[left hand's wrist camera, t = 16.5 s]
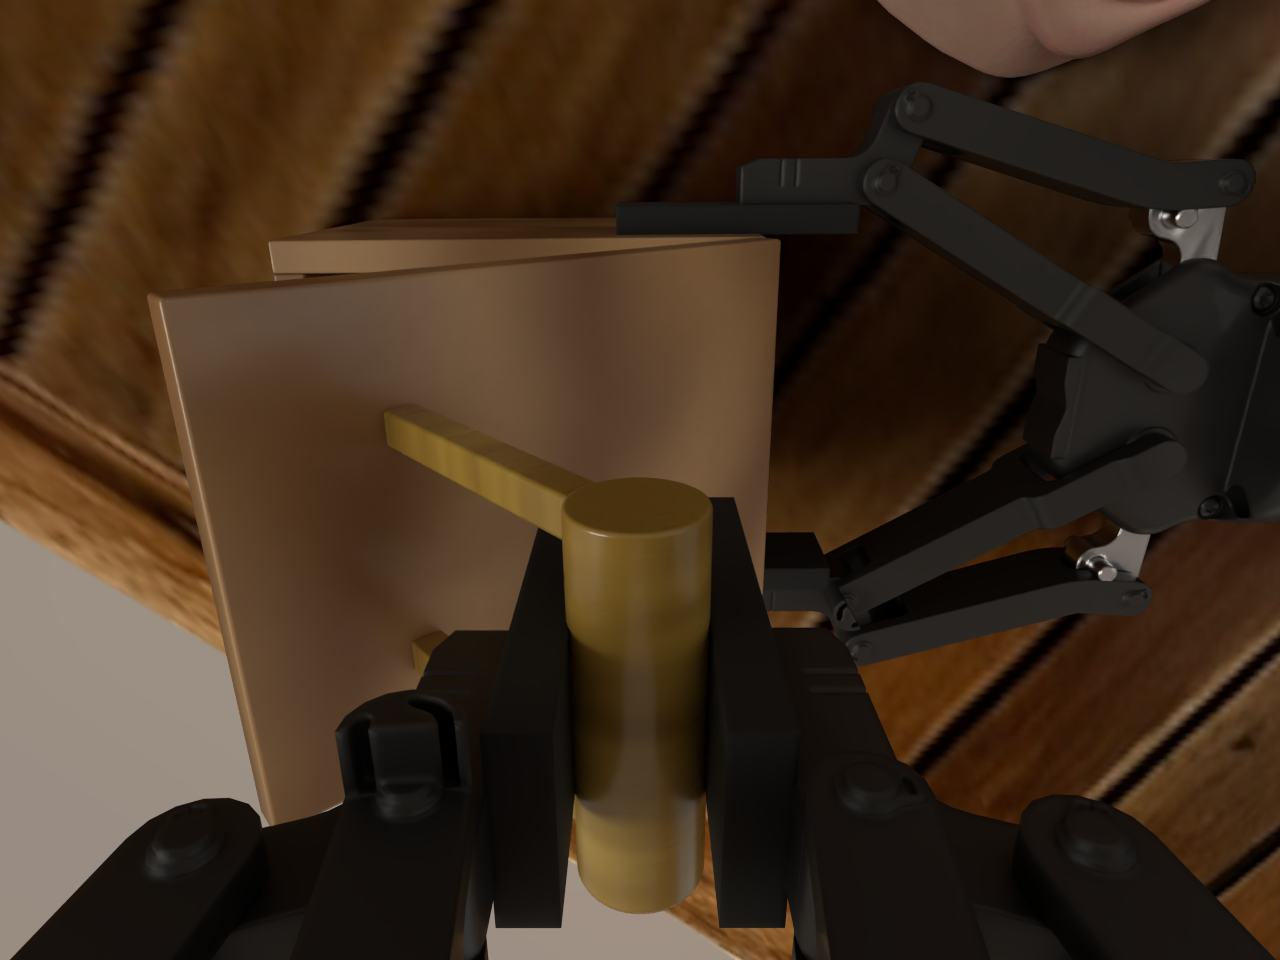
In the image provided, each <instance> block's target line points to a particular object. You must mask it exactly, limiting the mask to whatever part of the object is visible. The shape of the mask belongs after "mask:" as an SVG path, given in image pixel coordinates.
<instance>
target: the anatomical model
mask: <svg viewBox="0 0 1280 960" xmlns="http://www.w3.org/2000/svg"><path fill="white" fill-rule="evenodd" d="M877 1H878V2H879V3H880V4H881V5H882V6H883V7H884V8H885V9H886V10H887V11H888V12H889V13H891V14H892V15H893V16H895V17H896V18H897V19H898V20H900V21H901V22H902V23H904V24H905V25H906V26H907V27H909V28H910V29H911V30H912V31H914V32H915V33H916V34H918V35H919V36H920V37H921V38H923V39H924V40H925V41H927V42H928V43H930V44H931V45H933V46H934V47H935V48H937V49H938V50H940V51H941V52H943V53H945V54H947V55H949V56H951V57H953V58H955V59H957V60H959V61H961V62H963V63H965V64H967V65H969V66H971V67H973V68H975V69H977V70H979V71H982V72H984V73H987V74H990V75H994V76H998V77H1021V76H1026V75H1031V74H1034V73H1038V72H1041V71H1044V70H1047V69H1050V68H1052V67H1055V66H1058V65H1060V64H1063V63H1065V62H1068V61H1070V60H1073V59H1082V58H1088V57H1091V56H1094V55H1097V54H1100V53H1102V52H1104V51H1107V50H1109V49H1111V48H1113V47H1115V46H1117V45H1119V44H1121V43H1123V42H1125V41H1127V40H1129V39H1131V38H1133V37H1135V36H1137V35H1139V34H1141V33H1143V32H1145V31H1147V30H1150V29H1152V28H1154V27H1156V26H1158V25H1161V24H1163V23H1165V22H1167V21H1169V20H1171V19H1174V18H1176V17H1178V16H1180V15H1182V14H1185V13H1187V12H1189V11H1191V10H1193V9H1196V8H1198V7H1200V6H1201V5H1203V4H1205V3H1207V2H1209V1H1211V0H877Z"/></svg>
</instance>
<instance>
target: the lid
mask: <svg viewBox="0 0 1280 960" xmlns="http://www.w3.org/2000/svg"><path fill="white" fill-rule="evenodd" d="M780 247H781V242H780V240H778V239H771V238H758V237H756V238H745V239H734V240H723V241H712V242H700V243H689V244H678V245H667V246H656V247H645V248H634V249H623V250H612V251H601V252H590V253H579V254H567V255H556V256H545V257H534V258H523V259H512V260H501V261H490V262H479V263H468V264H457V265H446V266H435V267H423V268H412V269H401V270H390V271H379V272H368V273H357V274H346V275H335V276H324V277H313V278H302V279H290V280H279V281H268V282H257V283H246V284H235V285H224V286H213V287H202V288H191V289H180V290H169V291H158V292H151V293H149V294H148V297H147V299H148V304H149V308H150V313H151V317H152V322H153V326H154V331H155V335H156V340H157V344H158V349H159V353H160V358H161V362H162V367H163V371H164V376H165V380H166V385H167V389H168V394H169V398H170V403H171V407H172V412H173V416H174V421H175V425H176V430H177V434H178V439H179V443H180V448H181V452H182V457H183V461H184V466H185V470H186V475H187V479H188V484H189V488H190V493H191V497H192V502H193V506H194V511H195V515H196V520H197V524H198V529H199V533H200V538H201V542H202V547H203V551H204V556H205V560H206V565H207V569H208V574H209V578H210V583H211V587H212V592H213V596H214V601H215V605H216V610H217V614H218V619H219V623H220V628H221V632H222V637H223V641H224V646H225V650H226V655H227V659H228V664H229V668H230V673H231V677H232V682H233V686H234V690H235V695H236V700H237V704H238V709H239V713H240V717H241V722H242V726H243V731H244V736H245V740H246V745H247V749H248V754H249V758H250V763H251V767H252V772H253V776H254V781H255V785H256V790H257V794H258V799H259V803H260V807H261V812H262V813H263V815H264V817H265V818H266V820H267V822H268V823H269V825H270V826H273V825H277V824H281V823H286V822H290V821H294V820H298V819H303V818H307V817H310V816H314V815H317V814H319V813H321V812H323V811H325V810H327V809H329V808H332V807H333V806H336V805H338V804H340V803H342V802H343V801H344V798H345V793H344V787H343V781H342V775H341V768H340V762H339V756H338V750H337V743H336V737H335V730H336V729H337V727H338V726H339V725H340V723H341V722H342V720H343V719H344V717H345V716H346V715H347V714H349V713H350V712H352V711H353V710H354V709H356V708H357V707H359V706H360V705H361V704H363V703H364V702H367V701H369V700H372V699H374V698H377V697H379V696H382V695H384V694H387V693H392V692H398V691H404V690H411V689H416V688H417V686H418V684H419V681H420V679H421V677H423V672H424V670H425V667H426V665H427V663H428V660H429V658H430V656H431V653H432V651H433V649H434V648H436V647H437V646H438V645H439V644H440V643H441V642H443V641H444V640H445V639H446V638H447V637H448V636H450V635H451V634H452V633H453V632H454V631H455V630H509V628H510V624H511V621H512V617H513V614H514V610H515V607H516V603H517V600H518V596H519V593H520V589H521V586H522V582H523V579H524V575H525V572H526V568H527V564H528V561H529V557H530V554H531V550H532V547H533V543H534V540H535V536H536V533H537V529H538V527H539V528H540V529H542V530H544V531H546V532H548V533H550V534H552V535H553V536H555V537H557V538H559V539H561V540H562V549H563V570H564V591H565V612H566V623H567V626H568V628H569V650H570V676H571V702H572V727H573V752H574V777H575V800H574V809H573V819H574V820H575V822H576V843H577V864H578V872H579V876H580V878H581V880H582V882H583V884H584V886H585V887H586V889H587V890H588V891H589V893H590V894H591V895H592V896H593V897H594V898H595V899H597V900H598V901H599V902H601V903H602V904H604V905H606V906H608V907H610V908H612V909H615V910H618V911H622V912H625V913H632V914H649V913H655V912H660V911H663V910H666V909H669V908H671V907H673V906H675V905H677V904H679V903H680V902H682V901H683V900H684V899H686V898H687V897H688V896H689V895H690V894H691V893H692V891H693V890H694V889H695V888H696V886H697V884H698V883H699V881H700V879H701V876H702V873H703V869H704V849H705V809H706V793H705V785H706V753H707V718H708V683H709V648H710V610H711V571H712V531H713V506H712V503H711V501H710V499H709V498H708V497H734V499H735V502H736V506H737V509H738V513H739V516H740V520H741V523H742V527H743V530H744V534H745V537H746V541H747V544H748V548H749V551H750V555H751V558H752V562H753V565H754V569H755V572H756V576H757V579H758V583H759V586H760V590H761V593H762V594H763V581H764V561H765V541H766V522H767V502H768V483H769V463H770V443H771V424H772V404H773V384H774V365H775V345H776V326H777V306H778V286H779V267H780Z"/></svg>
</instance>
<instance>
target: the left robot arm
mask: <svg viewBox="0 0 1280 960" xmlns="http://www.w3.org/2000/svg"><path fill="white" fill-rule="evenodd" d="M708 498H709V499H710V501H711V503H712V506H713V531H712V571H711V610H710V648H709V683H708V718H707V753H706V785H705V793H706V803H707V812H708V822H709V831H710V841H711V851H712V860H713V870H714V880H715V889H716V899H717V909H718V918H719V928H785V921H786V909H787V898H788V902H789V906H790V911H791V916H792V921H793V926H794V939H793V950H792V960H1276V959H1275V958H1274V957H1273V956H1272V955H1271V954H1270V953H1269V952H1268V951H1267V950H1266V949H1265V948H1264V947H1263V946H1262V945H1261V944H1260V943H1259V942H1258V941H1257V940H1256V939H1255V938H1254V937H1253V936H1252V935H1251V934H1250V932H1249V931H1248V930H1247V929H1246V928H1245V927H1244V926H1243V925H1242V924H1241V923H1240V922H1239V921H1238V920H1237V919H1236V918H1235V917H1234V916H1233V915H1232V914H1231V913H1230V912H1229V911H1228V910H1227V909H1226V908H1225V907H1224V906H1223V905H1222V904H1221V903H1220V901H1219V900H1218V899H1217V898H1216V897H1215V896H1214V895H1213V894H1212V893H1211V892H1210V891H1209V890H1208V889H1207V888H1206V887H1205V886H1204V885H1203V884H1202V883H1201V882H1200V881H1199V880H1198V879H1197V878H1196V877H1195V876H1194V875H1193V874H1192V873H1191V871H1190V870H1189V869H1188V868H1187V867H1186V866H1185V865H1184V864H1183V863H1182V862H1181V861H1180V860H1179V859H1178V858H1177V857H1176V856H1175V855H1174V854H1173V853H1172V852H1171V851H1170V850H1169V849H1168V848H1167V847H1166V846H1165V845H1164V844H1163V843H1162V841H1161V840H1160V839H1159V838H1158V837H1157V836H1156V835H1155V834H1153V833H1152V832H1151V831H1150V830H1148V829H1147V828H1146V827H1145V826H1143V825H1142V824H1141V823H1140V822H1138V821H1137V820H1136V819H1135V818H1133V817H1132V816H1130V815H1128V814H1126V813H1124V812H1122V811H1120V810H1118V809H1116V808H1114V807H1112V806H1110V805H1108V804H1106V803H1103V802H1099V801H1096V800H1092V799H1088V798H1085V797H1081V796H1077V795H1050V796H1046V797H1043V798H1040V799H1036V800H1033V801H1032V802H1031V803H1030V804H1029V805H1028V807H1027V808H1026V809H1025V810H1024V811H1023V812H1022V814H1021V819H1020V823H1019V825H1017V824H1013V823H1009V822H1005V821H1000V820H996V819H992V818H988V817H984V816H979V815H975V814H971V813H968V812H965V811H962V810H959V809H955V808H952V807H950V806H948V805H946V804H944V803H942V802H940V801H938V800H936V797H935V795H934V793H933V792H932V790H931V788H930V787H929V785H928V783H927V782H926V780H925V779H924V778H923V777H922V776H921V775H919V774H918V773H917V772H916V771H914V770H913V769H912V768H911V767H909V766H908V765H907V764H905V763H903V762H900V761H898V760H897V759H896V757H895V754H894V752H893V750H892V748H891V745H890V743H889V741H888V738H887V736H886V734H885V731H884V729H883V727H882V724H881V722H880V720H879V718H878V715H877V713H876V711H875V708H874V706H873V704H872V701H871V699H870V697H869V695H868V693H866V688H865V685H864V683H863V681H862V678H861V676H860V674H858V669H857V667H856V665H855V662H854V660H853V658H852V655H851V653H850V651H849V648H848V647H847V646H846V645H845V644H844V643H843V642H841V641H840V640H839V639H838V638H837V637H836V636H834V635H833V634H832V633H831V632H830V631H829V630H827V629H826V628H771V625H770V621H769V618H768V614H767V611H766V607H765V604H764V600H763V597H762V593H761V590H760V586H759V583H758V579H757V576H756V572H755V569H754V565H753V562H752V558H751V555H750V551H749V548H748V544H747V541H746V537H745V534H744V530H743V527H742V523H741V520H740V516H739V513H738V509H737V506H736V502H735V499H734V497H708ZM335 737H336V743H337V750H338V756H339V762H340V768H341V775H342V781H343V787H344V793H345V798H344V801H343V804H342V805H340V806H337V807H335V808H333V809H331V810H329V811H326V812H323V813H320V814H317V815H314V816H310V817H307V818H303V819H298V820H294V821H290V822H286V823H281V824H277V825H273V826H269V827H265V828H262V825H261V820H260V816H259V815H258V814H257V813H256V812H255V810H254V809H253V808H252V807H251V806H250V805H249V804H247V803H244V802H241V801H237V800H234V799H231V798H214V799H202V800H198V801H194V802H191V803H187V804H183V805H180V806H176V807H174V808H172V809H170V810H168V811H166V812H164V813H162V814H160V815H158V816H156V817H155V818H153V819H151V820H149V821H148V822H146V823H145V824H144V825H143V826H141V827H140V828H139V829H138V830H136V831H135V832H134V833H133V834H131V835H130V836H129V837H128V838H127V839H126V840H125V841H124V842H123V843H122V844H121V845H120V846H119V847H118V848H117V849H116V850H115V851H114V852H113V853H112V854H111V855H110V856H109V857H108V858H107V859H106V860H105V861H104V862H103V864H102V865H101V866H100V867H99V868H98V869H97V870H96V871H95V872H94V873H93V874H92V875H91V876H90V877H89V878H88V879H87V880H86V881H85V882H84V883H83V884H82V885H81V886H80V887H79V888H78V890H77V891H76V892H75V893H74V894H73V895H72V896H71V897H70V898H69V899H68V900H67V901H66V902H65V903H64V904H63V905H62V906H61V907H60V908H59V909H58V910H57V911H56V912H55V913H54V915H53V916H52V917H51V918H50V919H49V920H48V921H47V922H46V923H45V924H44V925H43V926H42V927H41V928H40V929H39V930H38V931H37V932H36V933H35V934H34V935H33V936H32V937H31V938H30V940H29V941H28V942H27V943H26V944H25V945H24V946H23V947H22V948H21V949H20V950H19V951H18V952H17V953H16V954H15V955H14V956H13V957H12V958H11V959H10V960H488V951H487V939H486V934H487V929H488V924H489V919H490V914H491V909H492V904H493V902H494V914H495V925H496V928H561V925H562V915H563V905H564V896H565V886H566V876H567V867H568V857H569V848H570V838H571V828H572V819H573V809H574V800H575V777H574V752H573V727H572V702H571V676H570V650H569V628H568V626H567V623H566V612H565V591H564V570H563V549H562V540H561V539H559V538H557V537H555V536H553V535H552V534H550V533H548V532H546V531H544V530H542V529H540V528H539V527H538V529H537V533H536V536H535V540H534V543H533V547H532V550H531V554H530V557H529V561H528V564H527V568H526V572H525V575H524V579H523V582H522V586H521V589H520V593H519V596H518V600H517V603H516V607H515V610H514V614H513V617H512V621H511V624H510V628H509V630H455V631H454V632H453V633H452V634H451V635H450V636H448V637H447V638H446V639H445V640H444V641H443V642H441V643H440V644H439V645H438V646H437V647H436V648H434V649H433V651H432V653H431V656H430V658H429V660H428V663H427V665H426V667H425V670H424V672H423V677H421V679H420V681H419V684H418V686H417V688H416V689H411V690H404V691H398V692H392V693H387V694H384V695H382V696H379V697H377V698H374V699H372V700H369V701H367V702H364V703H363V704H361V705H360V706H359V707H357V708H356V709H354V710H353V711H352V712H350V713H349V714H347V715H346V716H345V717H344V719H343V720H342V722H341V723H340V725H339V726H338V727H337V729H336V730H335Z"/></svg>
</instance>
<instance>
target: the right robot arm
mask: <svg viewBox="0 0 1280 960" xmlns="http://www.w3.org/2000/svg"><path fill="white" fill-rule="evenodd" d="M920 147H923V148H926V149H929V150H932V151H935V152H938V153H941V154H944V155H947V156H950V157H954V158H957V159H960V160H963V161H966V162H969V163H972V164H975V165H978V166H981V167H984V168H987V169H991V170H994V171H997V172H1000V173H1003V174H1006V175H1009V176H1012V177H1015V178H1018V179H1021V180H1025V181H1028V182H1031V183H1034V184H1037V185H1040V186H1043V187H1046V188H1049V189H1052V190H1055V191H1058V192H1062V193H1065V194H1068V195H1071V196H1074V197H1077V198H1080V199H1083V200H1086V201H1090V202H1094V203H1098V204H1102V205H1111V206H1120V207H1131V209H1130V212H1129V219H1130V220H1131V222H1132V225H1133V228H1134V229H1135V230H1136V232H1138V233H1139V234H1141V235H1145V236H1149V237H1153V238H1155V239H1156V240H1158V242H1159V243H1160V244H1161V246H1162V249H1163V258H1161V259H1159V260H1157V261H1155V262H1153V263H1152V264H1150V265H1149V266H1147V267H1146V268H1144V269H1143V270H1141V271H1139V272H1138V273H1136V274H1135V275H1133V276H1132V277H1130V278H1129V279H1127V280H1125V281H1124V282H1122V283H1121V284H1119V285H1118V286H1116V287H1115V288H1113V289H1112V290H1110V291H1108V292H1107V293H1105V292H1103V291H1101V290H1100V289H1098V288H1096V287H1094V286H1092V285H1090V284H1087V283H1085V282H1083V281H1082V280H1080V279H1078V278H1077V277H1075V276H1073V275H1072V274H1070V273H1069V272H1067V271H1066V270H1064V269H1063V268H1061V267H1060V266H1058V265H1057V264H1055V263H1054V262H1052V261H1051V260H1049V259H1048V258H1046V257H1045V256H1043V255H1042V254H1040V253H1039V252H1037V251H1036V250H1034V249H1032V248H1031V247H1029V246H1028V245H1026V244H1025V243H1023V242H1022V241H1020V240H1019V239H1017V238H1016V237H1014V236H1013V235H1011V234H1010V233H1008V232H1007V231H1005V230H1004V229H1002V228H1001V227H999V226H998V225H996V224H994V223H993V222H991V221H990V220H988V219H987V218H985V217H984V216H982V215H981V214H979V213H978V212H976V211H975V210H973V209H972V208H970V207H969V206H967V205H966V204H964V203H963V202H961V201H960V200H958V199H957V198H955V197H953V196H952V195H950V194H949V193H947V192H946V191H944V190H943V189H941V188H940V187H938V186H937V185H935V184H934V183H932V182H931V181H929V180H928V179H926V178H925V177H923V176H922V175H920V174H919V173H917V172H915V171H914V170H912V169H911V167H912V165H913V163H914V161H915V158H916V156H917V154H918V152H919V149H920ZM1255 182H1256V172H1255V170H1254V168H1253V166H1252V165H1251V164H1250V163H1249V162H1247V161H1246V160H1241V159H1188V160H1168V161H1163V160H1160V159H1157V158H1154V157H1151V156H1148V155H1145V154H1142V153H1139V152H1136V151H1133V150H1130V149H1127V148H1124V147H1121V146H1118V145H1115V144H1112V143H1109V142H1106V141H1103V140H1100V139H1097V138H1094V137H1091V136H1088V135H1085V134H1082V133H1079V132H1076V131H1073V130H1070V129H1067V128H1063V127H1060V126H1057V125H1054V124H1051V123H1048V122H1045V121H1042V120H1039V119H1036V118H1033V117H1030V116H1027V115H1024V114H1021V113H1018V112H1015V111H1012V110H1009V109H1006V108H1003V107H1000V106H997V105H994V104H991V103H988V102H985V101H982V100H979V99H976V98H973V97H970V96H967V95H964V94H961V93H958V92H955V91H952V90H949V89H946V88H943V87H940V86H937V85H934V84H931V83H927V82H917V83H914V84H910V85H907V86H903V87H900V88H897V89H894V90H892V91H889V92H886V93H884V94H883V95H882V96H881V97H879V98H878V99H877V101H876V103H875V105H874V106H873V111H872V121H871V123H870V125H869V128H868V130H867V133H866V135H865V137H864V139H863V141H862V143H861V145H860V146H859V147H858V148H857V149H856V151H854V152H853V153H851V154H850V155H848V156H846V157H843V158H792V159H753V160H751V161H749V162H746V163H744V164H742V165H739V166H737V167H736V188H735V201H717V202H619V203H618V204H617V205H616V235H670V234H761V235H771V234H858V226H859V214H860V205H861V206H863V207H864V208H866V209H868V210H869V211H871V212H872V213H874V214H875V215H877V216H878V217H880V218H882V219H883V220H885V221H886V222H888V223H889V224H891V225H893V226H894V227H896V228H897V229H899V230H900V231H902V232H903V233H905V234H907V235H908V236H910V237H911V238H913V239H914V240H916V241H918V242H919V243H921V244H922V245H924V246H925V247H927V248H928V249H930V250H932V251H933V252H935V253H936V254H938V255H939V256H941V257H942V258H944V259H946V260H947V261H949V262H950V263H952V264H953V265H955V266H957V267H958V268H960V269H961V270H963V271H964V272H966V273H967V274H969V275H971V276H972V277H974V278H975V279H977V280H978V281H980V282H982V283H983V284H985V285H986V286H988V287H989V288H991V289H992V290H994V291H996V292H997V293H999V294H1000V295H1002V296H1003V297H1005V298H1006V299H1008V300H1010V301H1011V302H1013V303H1014V304H1016V305H1017V306H1018V308H1020V309H1021V310H1023V311H1024V312H1026V313H1027V314H1029V315H1030V316H1032V317H1033V318H1035V319H1037V320H1038V321H1040V322H1041V323H1043V324H1044V325H1046V326H1047V327H1049V328H1051V329H1052V330H1054V331H1053V333H1052V334H1051V335H1050V337H1049V339H1048V341H1047V343H1046V344H1038V349H1037V355H1036V361H1035V367H1034V368H1035V377H1036V387H1037V393H1036V395H1035V398H1034V400H1033V402H1032V404H1031V407H1030V409H1029V411H1028V413H1027V416H1026V421H1025V427H1024V433H1023V439H1024V440H1025V441H1027V442H1028V443H1027V444H1025V445H1023V446H1021V447H1019V448H1017V449H1015V450H1013V451H1011V452H1009V453H1007V454H1005V455H1003V456H1001V457H1000V458H998V459H997V460H996V461H995V462H994V463H993V466H992V468H991V469H990V470H989V471H987V472H986V473H984V474H982V475H980V476H978V477H976V478H974V479H972V480H970V481H968V482H966V483H964V484H962V485H960V486H958V487H956V488H954V489H952V490H950V491H948V492H946V493H945V494H943V495H941V496H939V497H937V498H935V499H933V500H931V501H929V502H927V503H925V504H923V505H921V506H919V507H917V508H915V509H913V510H911V511H909V512H907V513H905V514H903V515H901V516H899V517H897V518H895V519H893V520H891V521H889V522H887V523H886V524H884V525H882V526H880V527H878V528H876V529H874V530H872V531H870V532H868V533H866V534H864V535H862V536H860V537H858V538H856V539H854V540H852V541H850V542H848V543H846V544H844V545H842V546H840V547H838V548H836V549H834V550H832V551H830V552H828V553H827V554H825V555H824V554H823V552H822V550H821V548H820V545H819V543H818V541H817V539H816V536H815V534H814V532H789V533H766V541H765V561H764V581H763V594H762V597H763V600H764V604H765V607H766V611H770V610H772V611H817V612H821V613H823V614H825V615H826V616H828V617H829V618H830V620H831V623H832V625H833V628H834V630H835V633H836V636H837V638H838V639H839V640H840V641H841V642H843V643H844V644H845V645H846V646H847V647H848V648H849V651H850V653H851V655H852V658H853V660H854V662H855V665H858V666H863V665H869V664H873V663H877V662H881V661H885V660H889V659H893V658H897V657H901V656H905V655H909V654H913V653H917V652H921V651H925V650H930V649H934V648H938V647H942V646H946V645H950V644H954V643H958V642H962V641H966V640H970V639H974V638H978V637H982V636H986V635H990V634H994V633H998V632H1002V631H1006V630H1010V629H1014V628H1018V627H1022V626H1026V625H1030V624H1034V623H1038V622H1042V621H1046V620H1050V619H1054V618H1058V617H1062V616H1066V615H1070V614H1074V613H1088V614H1108V615H1136V614H1138V613H1140V612H1143V611H1144V610H1145V609H1146V608H1147V607H1148V606H1149V605H1150V603H1151V601H1152V595H1153V593H1152V591H1151V589H1150V587H1148V586H1147V585H1146V584H1145V583H1144V582H1143V581H1141V580H1140V579H1139V578H1138V575H1139V571H1140V568H1141V565H1142V561H1143V558H1144V555H1145V551H1146V548H1147V545H1148V541H1149V538H1150V535H1151V534H1155V533H1158V532H1162V531H1164V530H1166V529H1168V528H1170V527H1172V526H1175V525H1177V524H1180V523H1183V522H1187V521H1191V520H1211V521H1222V522H1238V523H1278V522H1280V272H1236V271H1234V270H1232V269H1231V268H1229V267H1228V266H1227V265H1225V264H1224V263H1222V262H1220V261H1217V256H1218V250H1219V244H1220V239H1221V233H1222V228H1223V222H1224V217H1225V211H1226V207H1230V206H1234V205H1237V204H1239V203H1240V202H1242V201H1243V200H1245V199H1246V198H1247V197H1248V195H1249V194H1250V193H1251V192H1252V190H1253V187H1254V185H1255ZM1049 476H1053V477H1054V478H1055V479H1057V480H1054V481H1045V480H1043V479H1045V478H1047V477H1049ZM1094 510H1097V511H1099V512H1100V513H1101V514H1103V515H1104V516H1105V517H1106V521H1105V523H1104V525H1103V526H1102V527H1101V528H1100V529H1099V530H1098V531H1097V532H1095V533H1093V534H1091V535H1086V536H1081V537H1078V536H1077V535H1072V536H1069V537H1068V538H1066V539H1065V541H1064V547H1055V548H1042V549H1035V550H1030V551H1026V552H1021V553H1018V554H1014V555H1010V556H1006V557H1002V558H998V559H994V560H991V561H987V562H983V563H979V564H975V565H971V566H967V567H964V568H960V569H956V570H952V569H954V568H956V567H958V566H960V565H962V564H964V563H966V562H968V561H970V560H972V559H974V558H976V557H978V556H981V555H983V554H985V553H987V552H989V551H991V550H993V549H995V548H997V547H999V546H1001V545H1003V544H1005V543H1007V542H1009V541H1011V540H1013V539H1015V538H1017V537H1019V536H1021V535H1024V534H1026V533H1028V532H1030V531H1032V530H1035V529H1055V528H1058V527H1061V526H1063V525H1065V524H1067V523H1070V522H1072V521H1074V520H1076V519H1078V518H1080V517H1082V516H1084V515H1086V514H1088V513H1090V512H1092V511H1094ZM950 570H952V571H950Z"/></svg>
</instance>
